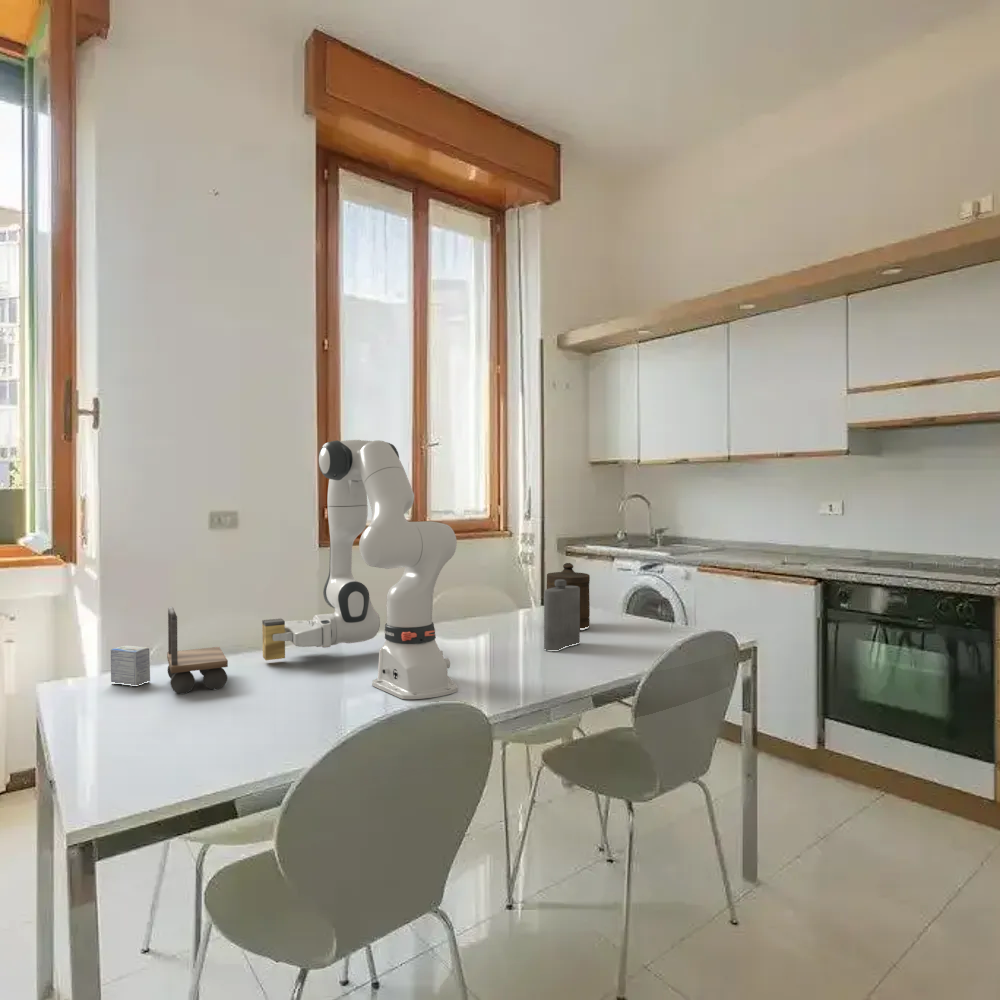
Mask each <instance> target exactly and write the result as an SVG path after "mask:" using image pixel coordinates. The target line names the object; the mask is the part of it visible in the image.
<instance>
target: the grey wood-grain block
mask: <svg viewBox="0 0 1000 1000" xmlns="http://www.w3.org/2000/svg"><path fill="white" fill-rule="evenodd" d="M150 654H151V653H150V648H149V647H148V646H147V647H145V646H137V645H122V646H118V647H114V648H112V649H110V683H111V682H115V683H124V684H131V685H139V684H142V683H144V682H147V681H150V682H151V667H150V666H151V663H150V661H151V660H150V659H151V658H150V657H151V656H150Z"/></svg>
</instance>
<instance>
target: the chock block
mask: <svg viewBox="0 0 1000 1000" xmlns="http://www.w3.org/2000/svg"><path fill="white" fill-rule="evenodd" d="M285 621H286V620H284V619H283V618H281V617H280V618H273V619H271V618H270V619H262V621H261V622H262V623H261V625H262V626H261V627H262V633H261V634H262V658H263V660H265V661H271V660H272V661H274V660H282V659H285V658H286V641H273V640H272V634H274V633H285Z"/></svg>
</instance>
